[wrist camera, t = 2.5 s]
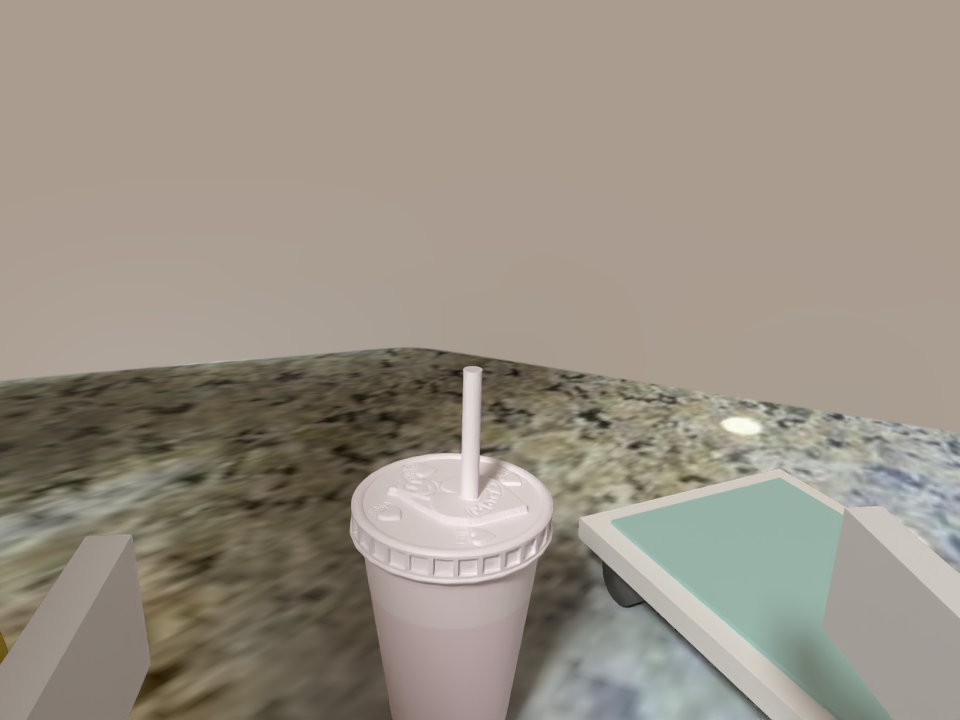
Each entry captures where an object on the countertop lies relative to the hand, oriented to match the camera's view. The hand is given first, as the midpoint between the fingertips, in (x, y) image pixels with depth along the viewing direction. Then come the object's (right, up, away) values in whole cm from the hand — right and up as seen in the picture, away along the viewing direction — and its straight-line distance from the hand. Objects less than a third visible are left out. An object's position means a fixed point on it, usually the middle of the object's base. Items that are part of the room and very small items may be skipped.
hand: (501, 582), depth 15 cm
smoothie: (-2, -9, +14) cm, 17 cm away
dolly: (+13, -8, +18) cm, 24 cm away
